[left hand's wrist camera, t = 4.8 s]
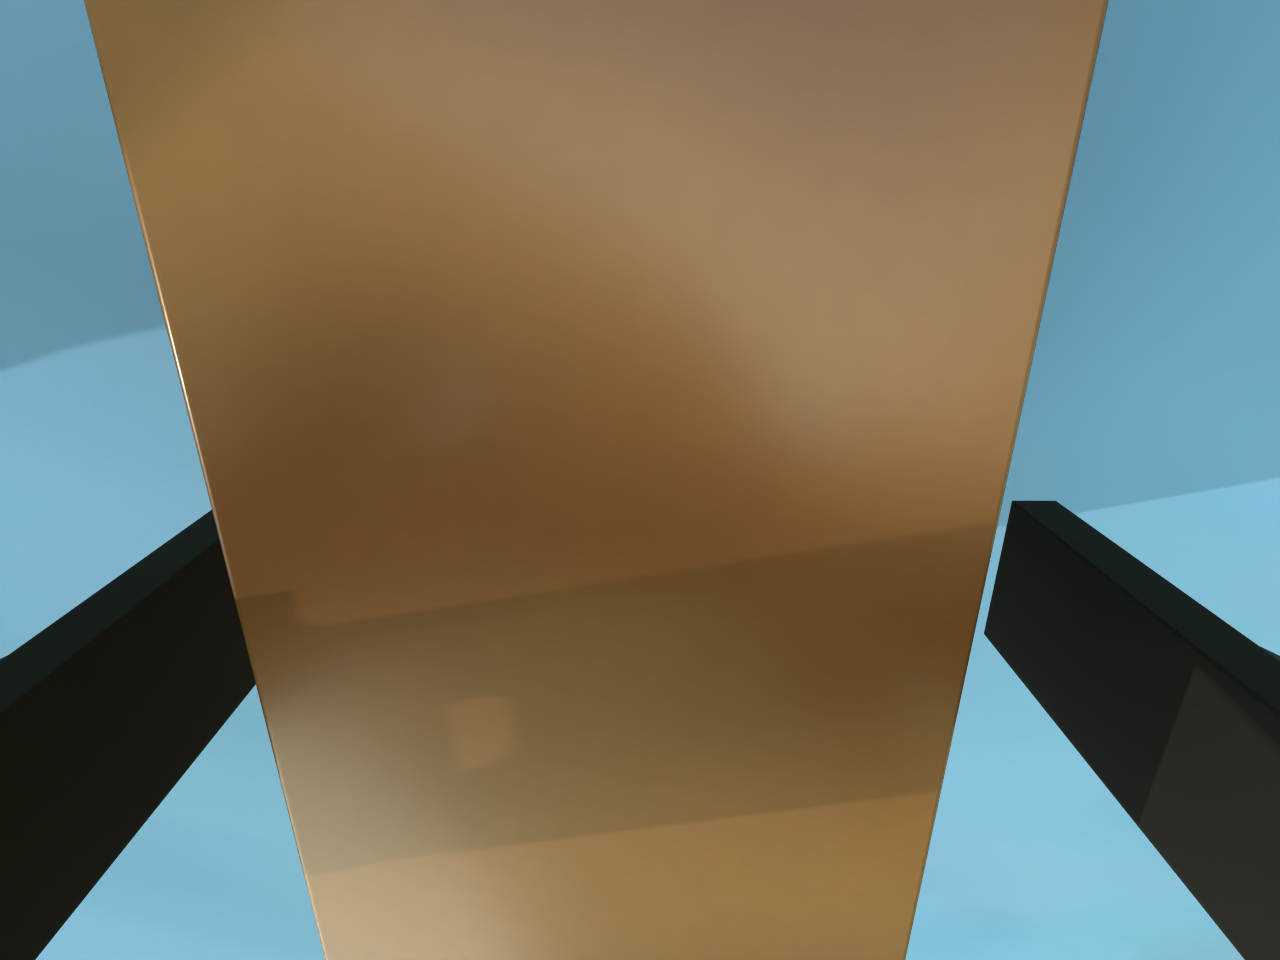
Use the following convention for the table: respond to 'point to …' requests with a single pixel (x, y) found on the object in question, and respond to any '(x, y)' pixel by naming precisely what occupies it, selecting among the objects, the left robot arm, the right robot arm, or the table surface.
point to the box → (604, 435)
